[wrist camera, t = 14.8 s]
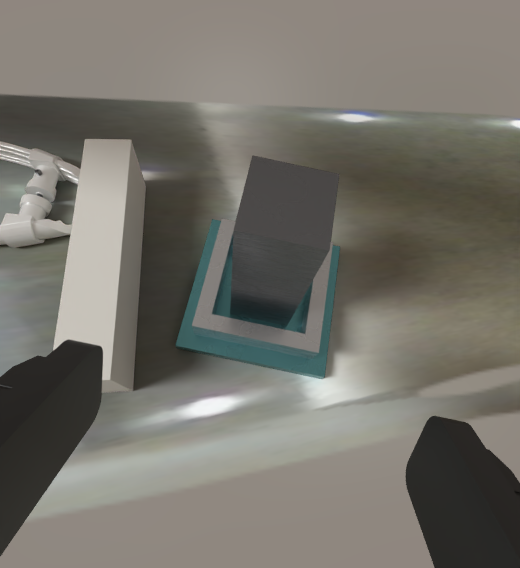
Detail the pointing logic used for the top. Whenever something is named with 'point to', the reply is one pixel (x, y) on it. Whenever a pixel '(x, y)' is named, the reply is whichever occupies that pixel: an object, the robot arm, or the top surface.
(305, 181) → the block
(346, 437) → the top surface
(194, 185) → the top surface
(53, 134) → the top surface
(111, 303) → the door edge
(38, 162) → the door handle
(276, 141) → the top surface
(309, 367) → the keeper
